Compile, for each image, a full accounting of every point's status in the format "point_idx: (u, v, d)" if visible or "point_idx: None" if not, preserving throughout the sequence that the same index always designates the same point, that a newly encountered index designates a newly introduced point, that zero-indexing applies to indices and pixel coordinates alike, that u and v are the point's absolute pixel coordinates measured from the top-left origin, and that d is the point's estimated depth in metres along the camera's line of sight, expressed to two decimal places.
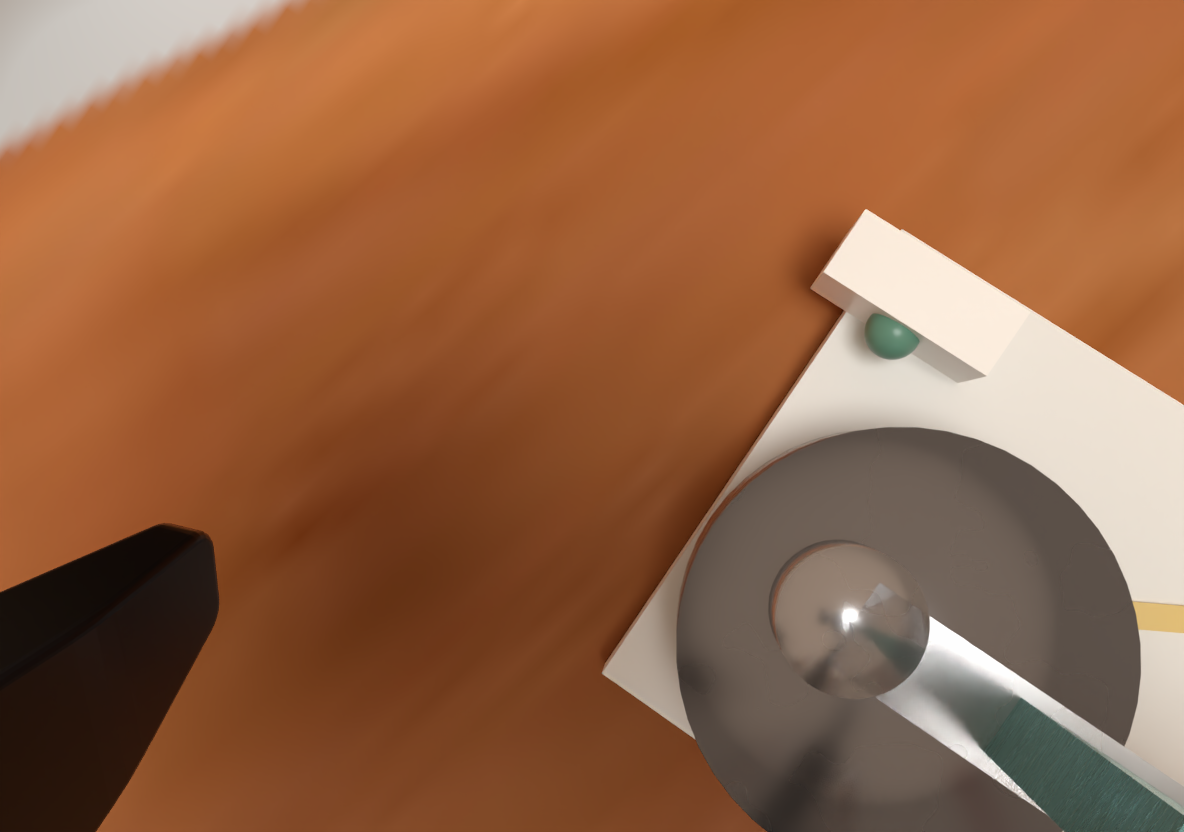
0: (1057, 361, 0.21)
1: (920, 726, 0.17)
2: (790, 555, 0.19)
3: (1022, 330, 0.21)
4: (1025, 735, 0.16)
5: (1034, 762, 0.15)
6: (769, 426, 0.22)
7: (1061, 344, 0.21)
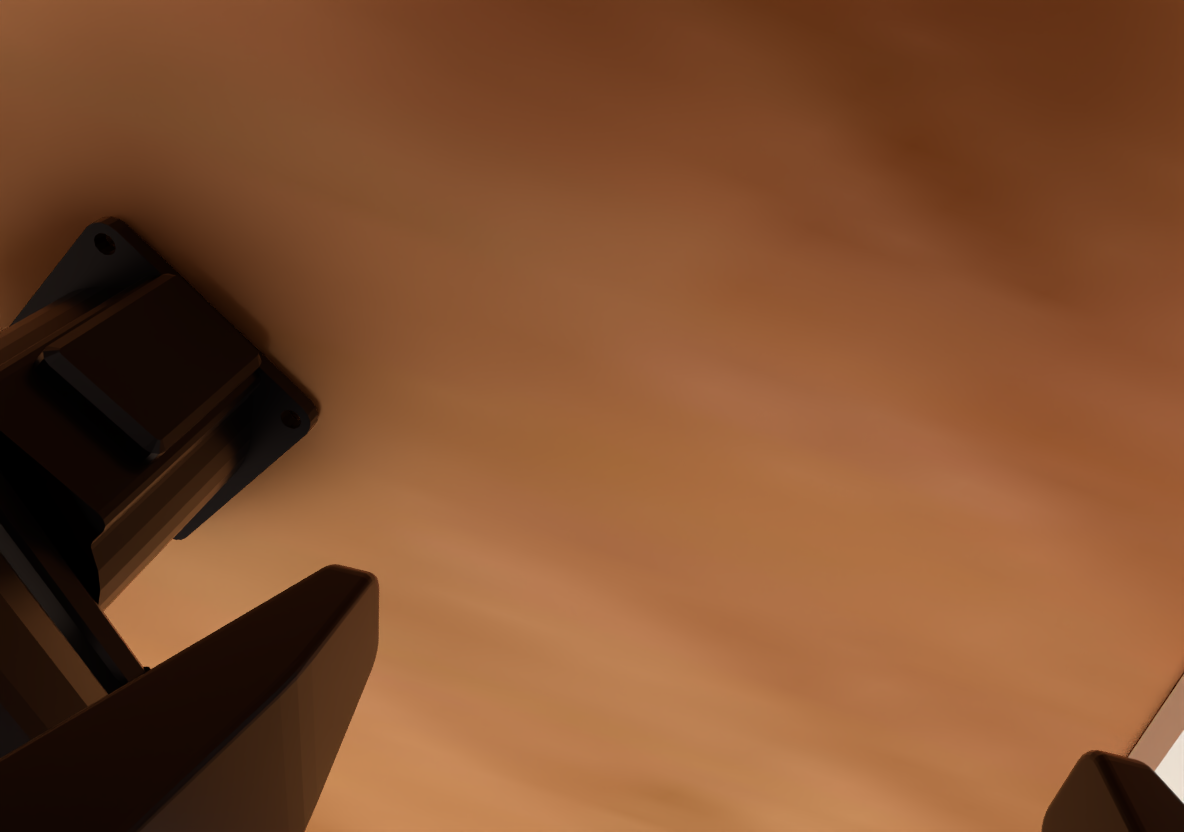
0: None
1: None
2: None
3: None
4: None
5: None
6: None
7: None
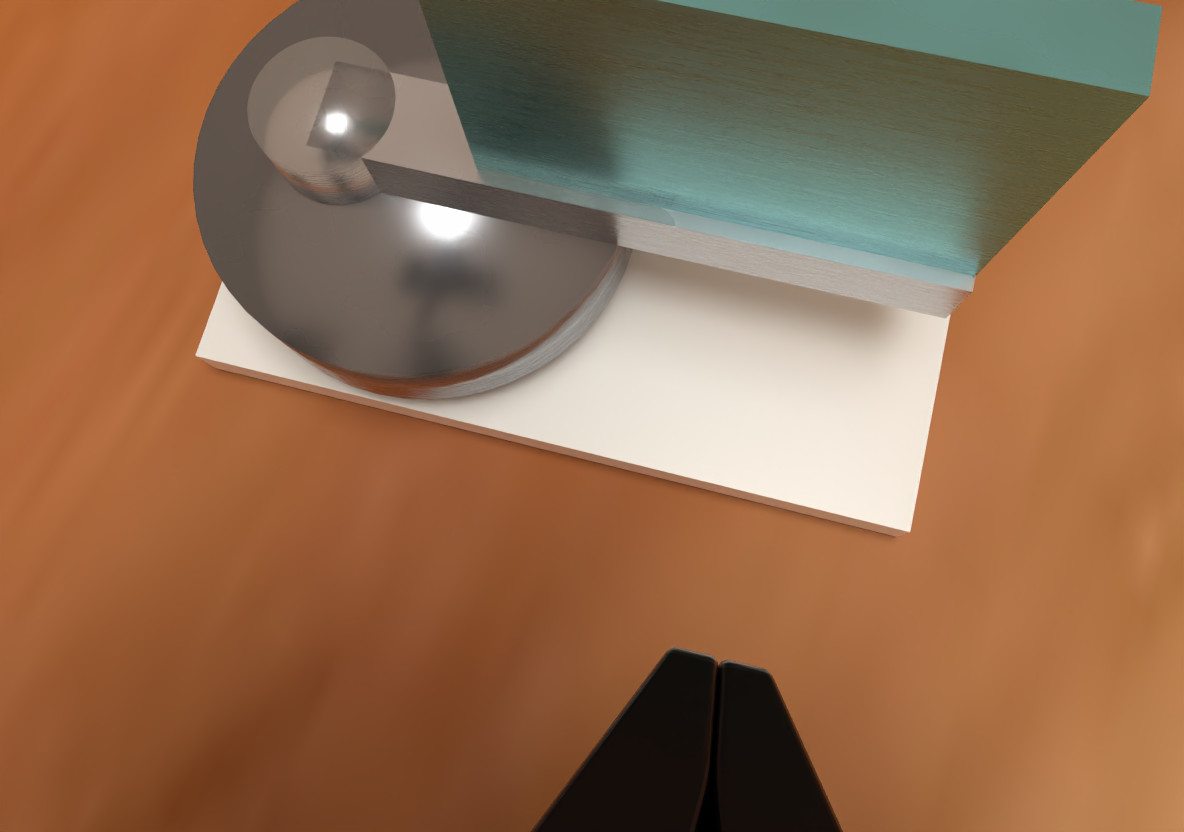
0: None
1: (412, 168, 0.17)
2: None
3: None
4: None
5: None
6: None
7: None
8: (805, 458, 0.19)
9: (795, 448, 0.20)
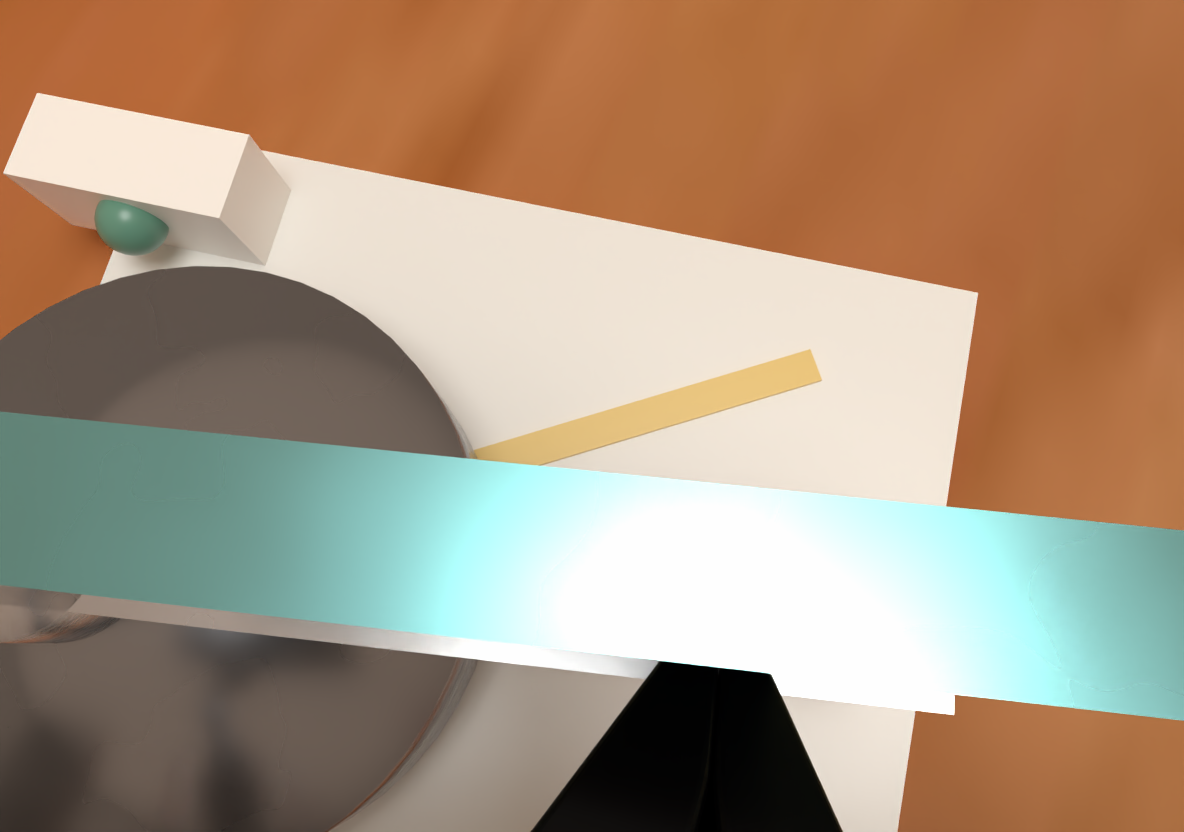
0: (367, 204, 0.18)
1: (142, 618, 0.12)
2: None
3: (320, 186, 0.18)
4: None
5: None
6: None
7: (366, 185, 0.18)
8: None
9: None
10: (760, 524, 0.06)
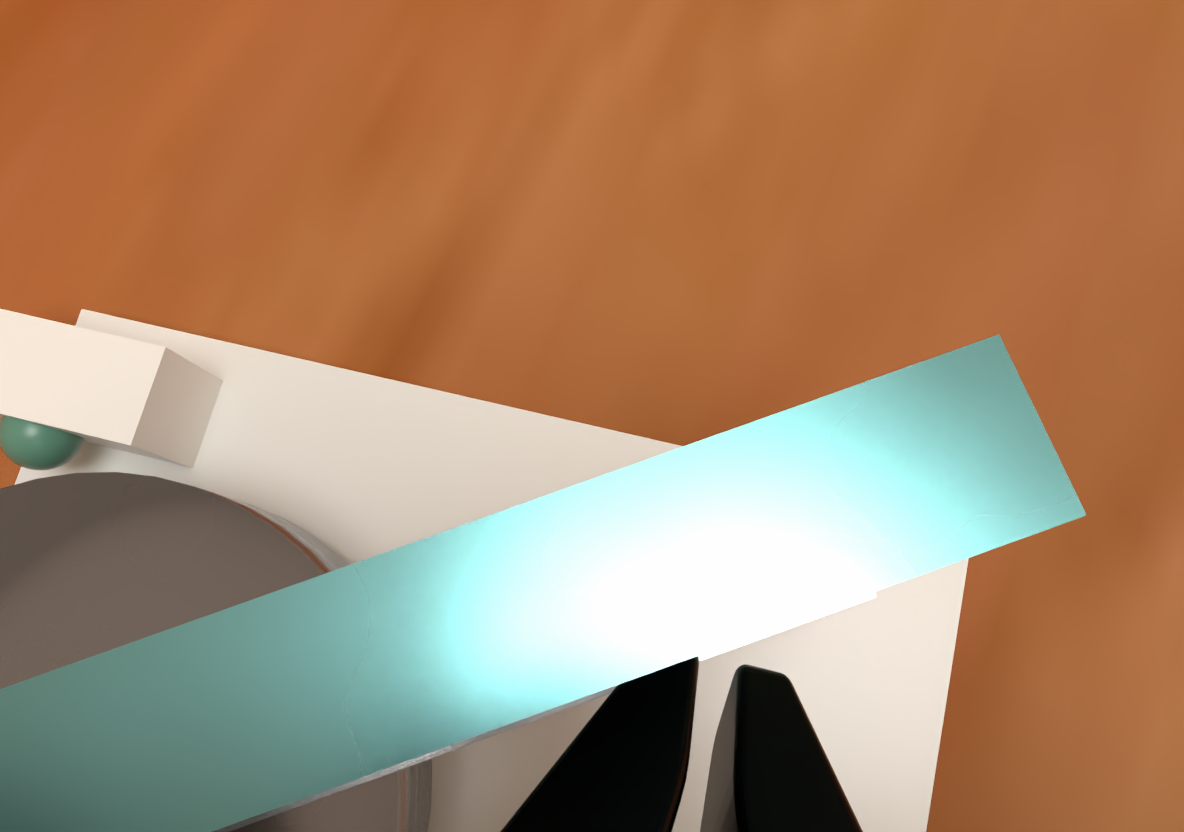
0: (305, 398, 0.16)
1: None
2: None
3: (254, 376, 0.16)
4: None
5: None
6: None
7: (304, 377, 0.16)
8: None
9: None
10: (542, 539, 0.06)
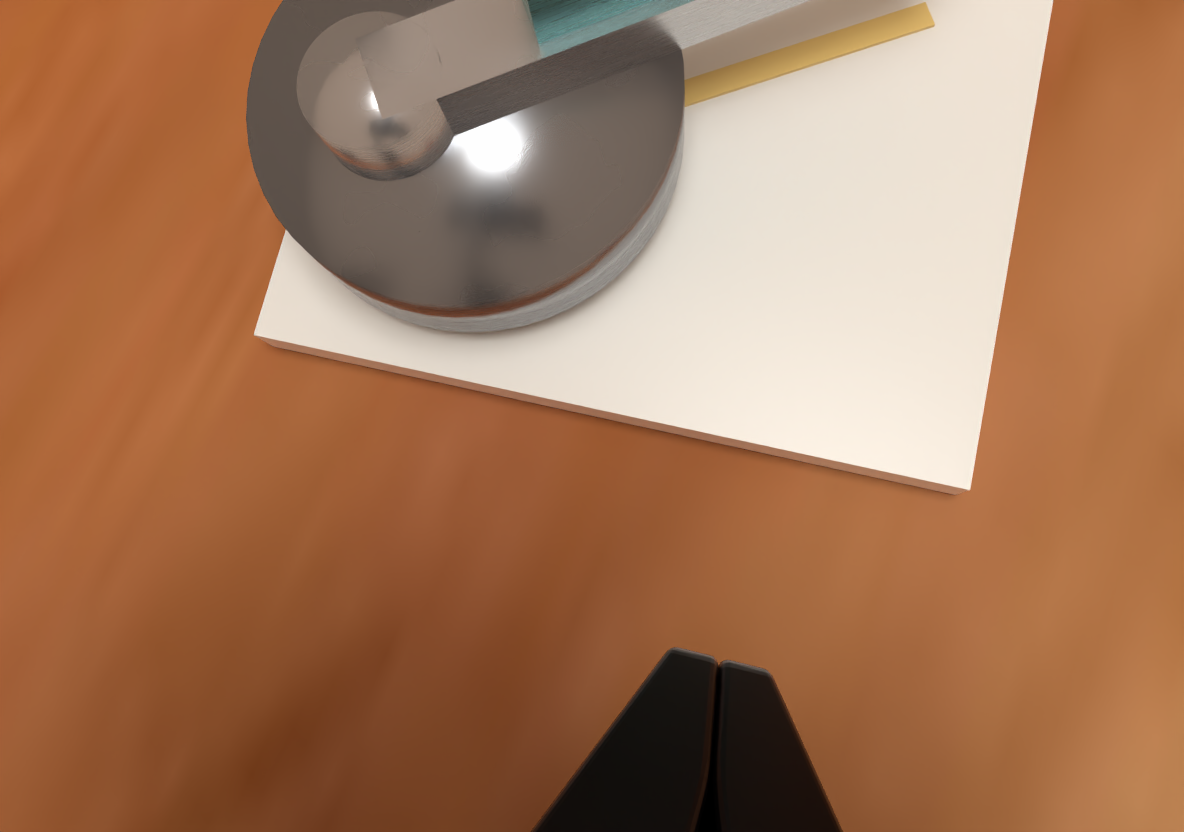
0: None
1: (486, 80, 0.17)
2: None
3: None
4: None
5: None
6: None
7: None
8: (861, 418, 0.19)
9: (851, 409, 0.19)
10: None
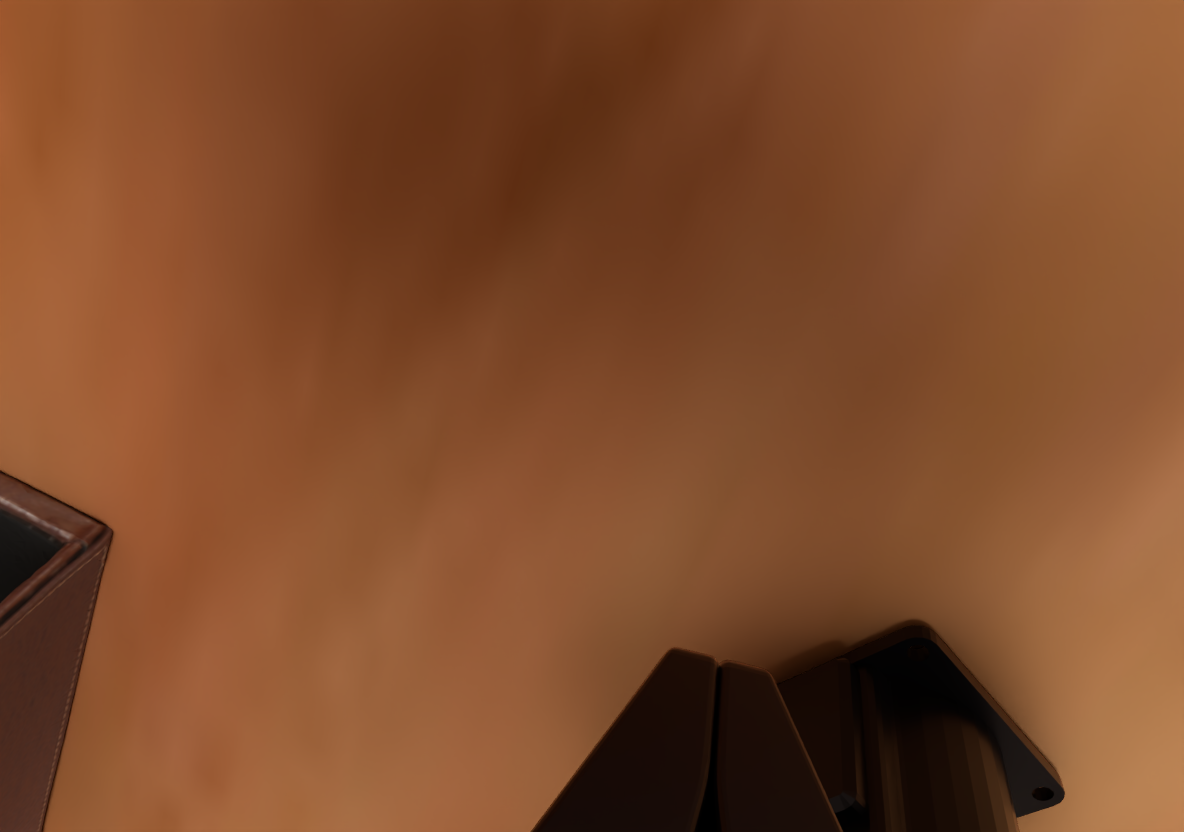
0: None
1: None
2: None
3: None
4: None
5: None
6: None
7: None
8: None
9: None
10: None
